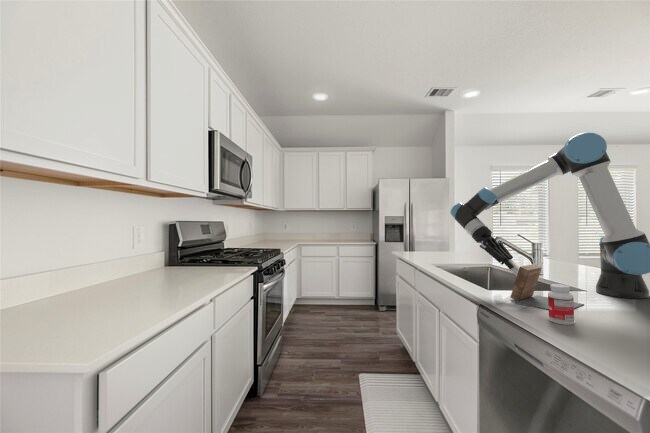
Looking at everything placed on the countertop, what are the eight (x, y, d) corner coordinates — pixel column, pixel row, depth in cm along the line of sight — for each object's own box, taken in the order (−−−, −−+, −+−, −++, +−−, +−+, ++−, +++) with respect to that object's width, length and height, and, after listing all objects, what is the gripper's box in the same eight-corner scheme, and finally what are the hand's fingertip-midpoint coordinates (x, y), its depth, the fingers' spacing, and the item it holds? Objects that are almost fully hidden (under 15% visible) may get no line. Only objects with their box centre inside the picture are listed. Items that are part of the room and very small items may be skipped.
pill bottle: (550, 317, 95) (549, 282, 95) (575, 321, 91) (574, 284, 91) (547, 322, 91) (545, 285, 91) (573, 326, 87) (571, 288, 87)
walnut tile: (532, 297, 118) (542, 267, 115) (519, 301, 113) (529, 270, 110) (523, 293, 121) (533, 264, 118) (510, 297, 116) (519, 266, 113)
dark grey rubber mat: (584, 305, 106) (584, 304, 106) (563, 313, 98) (563, 312, 98) (537, 296, 119) (537, 295, 119) (515, 303, 111) (515, 301, 111)
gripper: (481, 236, 137) (522, 278, 122) (463, 237, 131) (504, 282, 116) (492, 224, 133) (536, 266, 118) (474, 225, 126) (518, 270, 111)
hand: (520, 274), depth 117 cm, fingers closed
